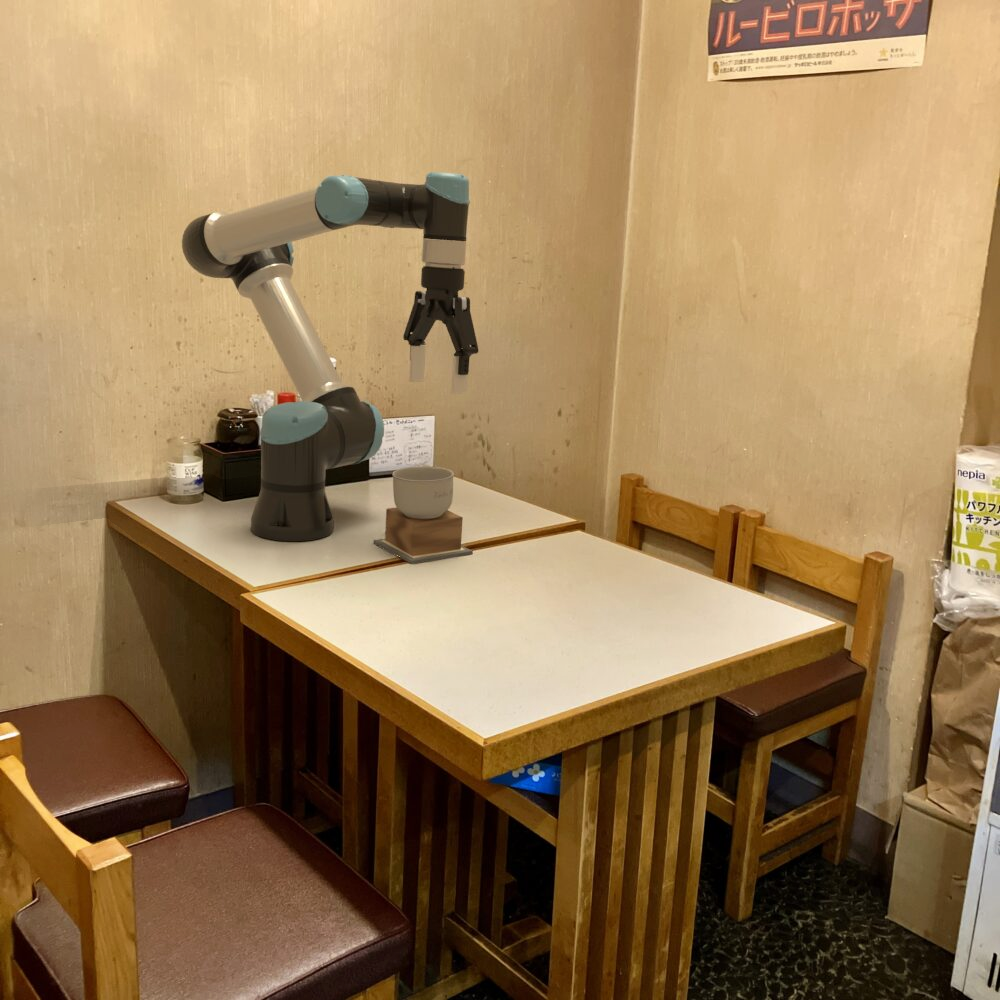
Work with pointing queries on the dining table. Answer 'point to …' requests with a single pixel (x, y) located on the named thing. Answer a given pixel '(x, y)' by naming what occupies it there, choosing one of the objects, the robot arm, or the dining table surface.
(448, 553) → the mat
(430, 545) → the brown wooden block
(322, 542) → the dining table surface
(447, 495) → the teacup
